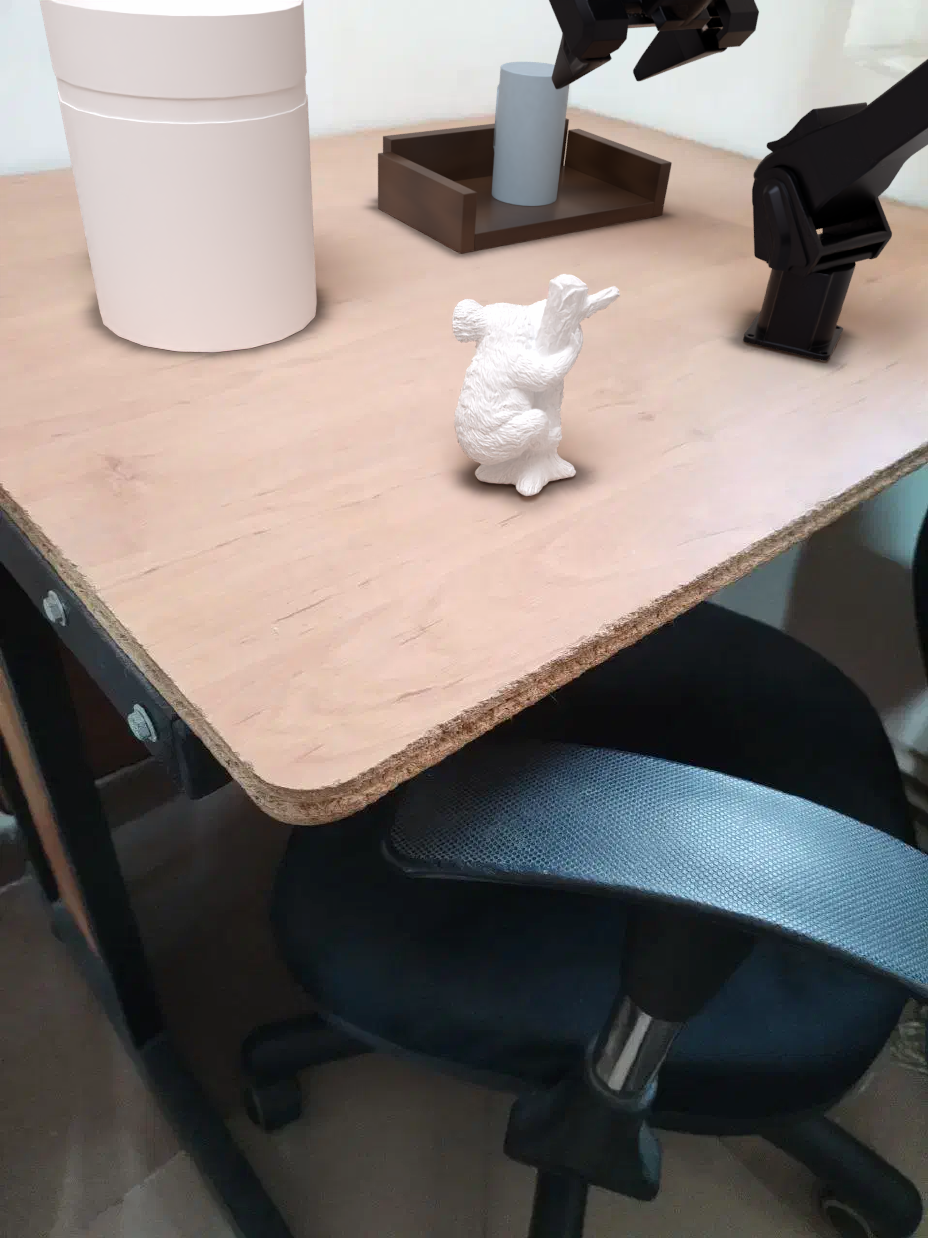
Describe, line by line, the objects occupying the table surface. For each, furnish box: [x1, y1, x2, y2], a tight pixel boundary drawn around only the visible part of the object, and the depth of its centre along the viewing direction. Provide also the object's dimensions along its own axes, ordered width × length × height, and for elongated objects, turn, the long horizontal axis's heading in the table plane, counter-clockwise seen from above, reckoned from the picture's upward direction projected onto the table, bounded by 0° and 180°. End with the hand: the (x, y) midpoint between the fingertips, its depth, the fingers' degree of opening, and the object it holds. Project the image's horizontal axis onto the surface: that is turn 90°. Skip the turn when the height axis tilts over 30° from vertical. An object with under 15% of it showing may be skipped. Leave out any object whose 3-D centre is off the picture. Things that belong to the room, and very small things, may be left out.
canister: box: [39, 0, 318, 353], centre depth 66 cm, size 16×16×20 cm
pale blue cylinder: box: [492, 61, 570, 206], centre depth 91 cm, size 8×6×11 cm
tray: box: [377, 117, 673, 254], centre depth 93 cm, size 16×25×6 cm, turn 125°
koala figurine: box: [451, 273, 621, 497], centre depth 52 cm, size 8×7×12 cm
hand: (596, 79), depth 81 cm, fingers open, 9 cm apart
